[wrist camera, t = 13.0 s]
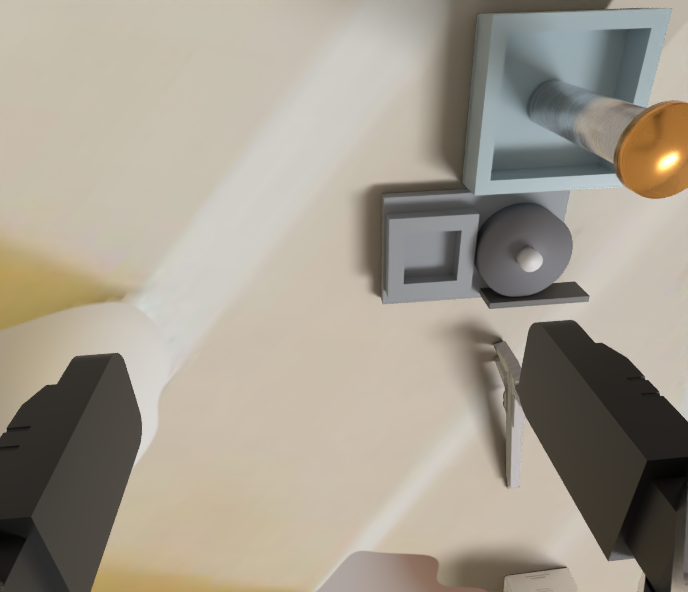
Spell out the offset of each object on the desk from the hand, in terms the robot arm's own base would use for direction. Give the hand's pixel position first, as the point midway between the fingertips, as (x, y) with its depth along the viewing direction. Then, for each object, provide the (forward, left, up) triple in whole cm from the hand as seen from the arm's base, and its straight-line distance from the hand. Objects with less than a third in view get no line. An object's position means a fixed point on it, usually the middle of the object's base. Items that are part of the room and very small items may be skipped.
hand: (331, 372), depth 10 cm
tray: (0, +17, -28) cm, 33 cm away
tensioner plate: (+11, +12, -28) cm, 32 cm away
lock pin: (0, +17, -28) cm, 32 cm away
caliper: (+30, +18, -29) cm, 45 cm away
